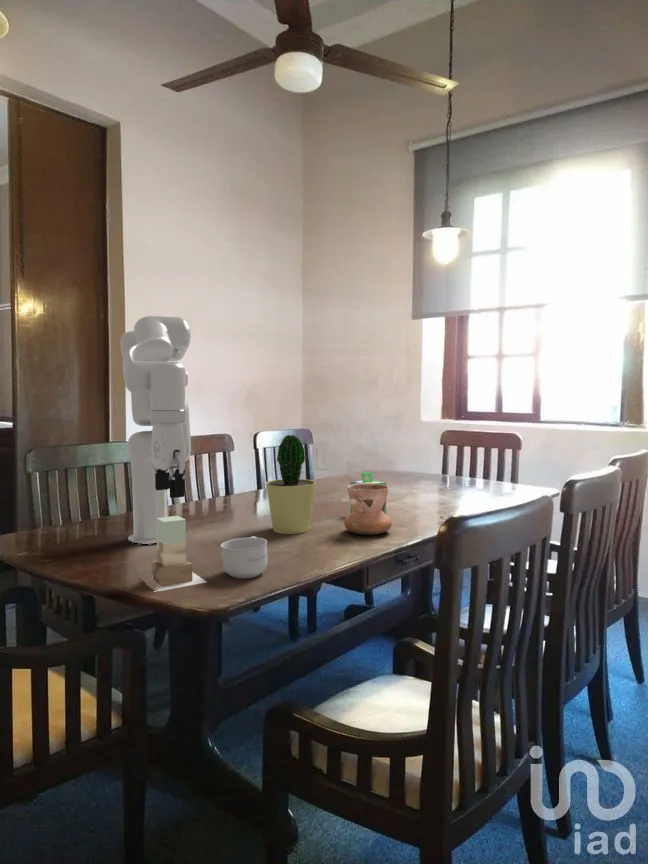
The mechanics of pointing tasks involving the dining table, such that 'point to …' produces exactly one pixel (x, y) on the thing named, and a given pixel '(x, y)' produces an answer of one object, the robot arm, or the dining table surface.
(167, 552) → the maple block
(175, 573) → the walnut base brick
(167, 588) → the white mat
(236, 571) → the teacup
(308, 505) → the potted cactus
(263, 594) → the dining table surface
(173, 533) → the sage block
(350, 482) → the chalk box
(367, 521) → the ceramic jug
